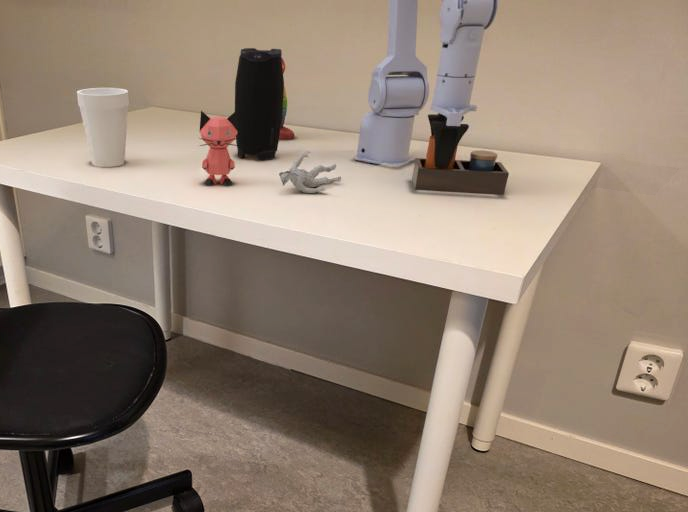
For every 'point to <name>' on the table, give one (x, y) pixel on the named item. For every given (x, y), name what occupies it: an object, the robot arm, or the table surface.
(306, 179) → the soldier figure
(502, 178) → the divided storage box
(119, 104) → the foam cup
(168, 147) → the table surface
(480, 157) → the blue jar
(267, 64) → the portable speaker
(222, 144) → the cat figurine
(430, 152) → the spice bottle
